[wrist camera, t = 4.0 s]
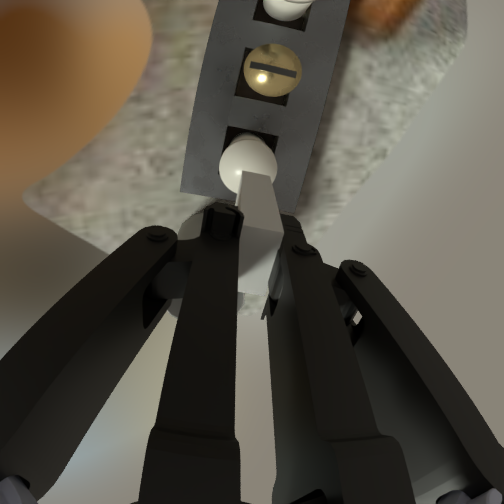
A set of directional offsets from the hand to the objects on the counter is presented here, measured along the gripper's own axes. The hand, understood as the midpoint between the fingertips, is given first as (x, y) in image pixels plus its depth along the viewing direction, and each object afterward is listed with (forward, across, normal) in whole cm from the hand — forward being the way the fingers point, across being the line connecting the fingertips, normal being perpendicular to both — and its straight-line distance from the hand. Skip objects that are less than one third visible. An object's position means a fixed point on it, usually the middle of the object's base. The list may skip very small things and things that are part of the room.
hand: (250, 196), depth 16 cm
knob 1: (+16, 0, -1) cm, 16 cm away
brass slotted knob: (+13, 0, +7) cm, 15 cm away
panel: (+17, 0, +7) cm, 18 cm away
